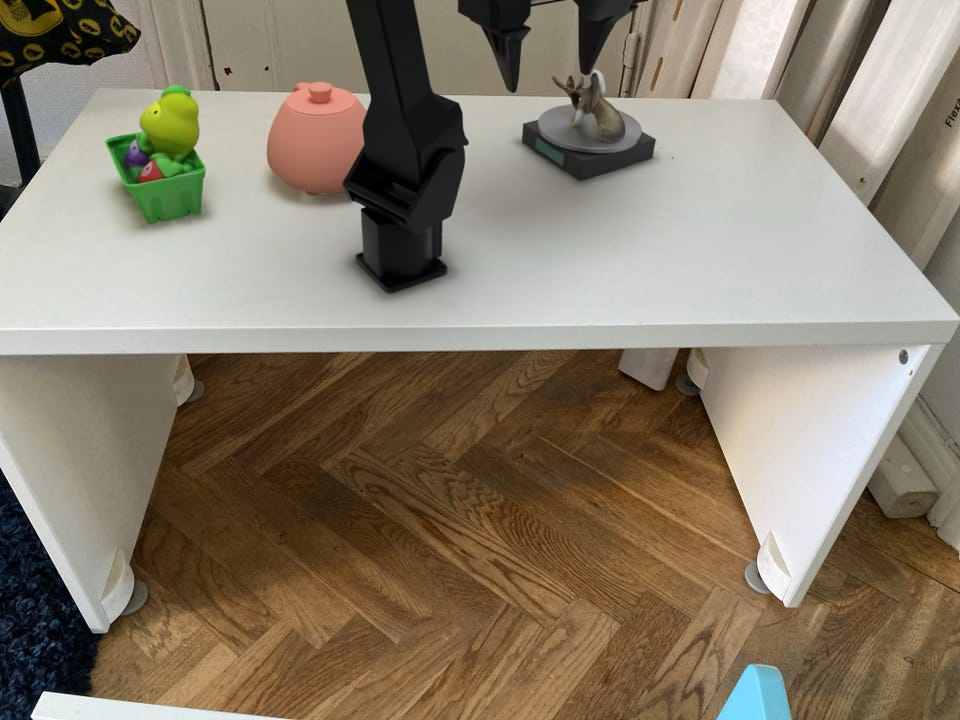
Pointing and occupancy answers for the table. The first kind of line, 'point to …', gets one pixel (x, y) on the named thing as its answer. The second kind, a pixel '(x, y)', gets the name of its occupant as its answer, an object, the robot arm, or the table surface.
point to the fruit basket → (163, 158)
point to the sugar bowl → (316, 138)
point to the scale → (586, 154)
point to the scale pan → (584, 131)
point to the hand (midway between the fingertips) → (549, 82)
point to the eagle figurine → (594, 106)
